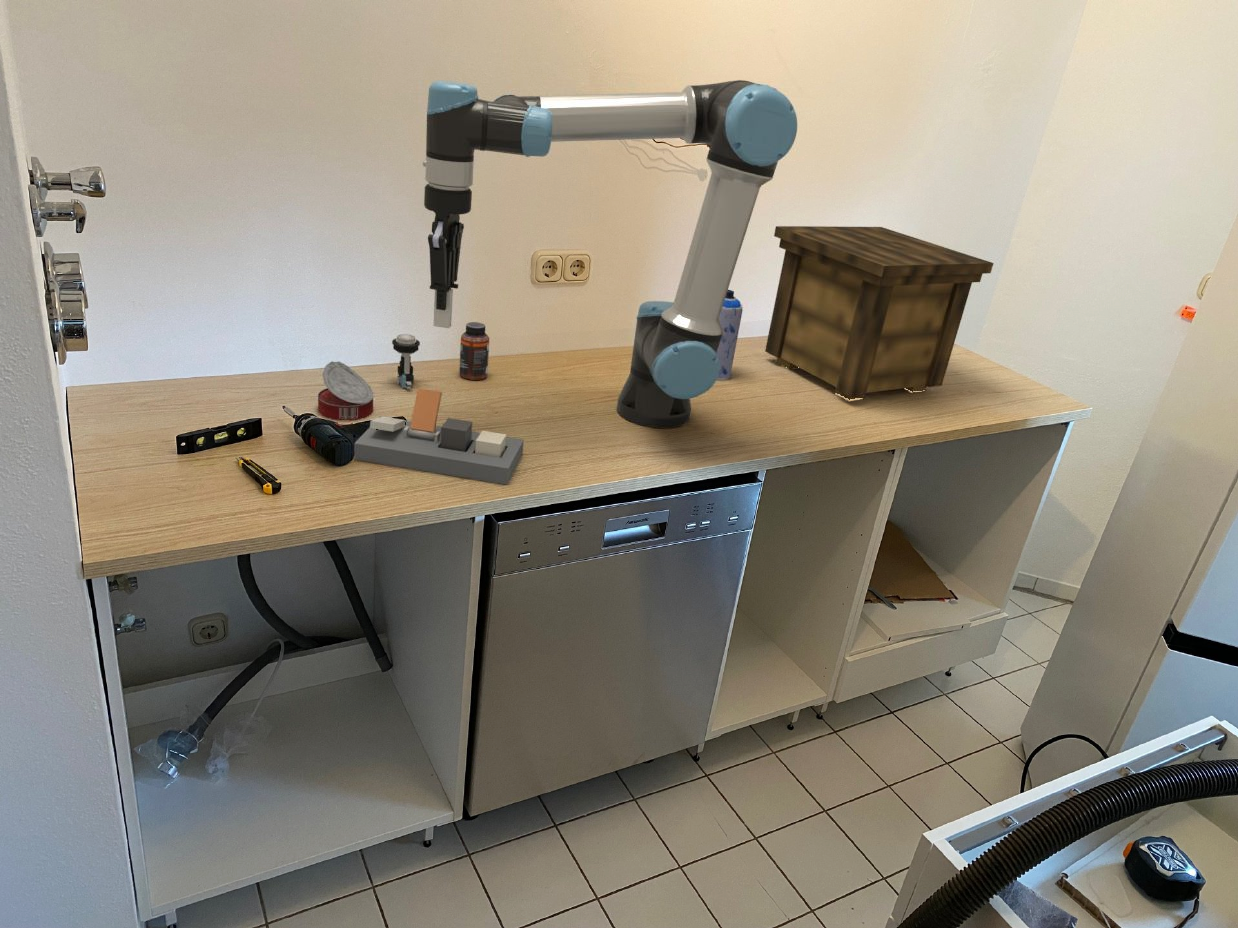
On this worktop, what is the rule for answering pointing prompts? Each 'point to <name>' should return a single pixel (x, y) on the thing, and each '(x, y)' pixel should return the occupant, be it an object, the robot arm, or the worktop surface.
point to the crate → (869, 307)
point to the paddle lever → (425, 413)
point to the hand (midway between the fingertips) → (442, 326)
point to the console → (437, 455)
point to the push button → (405, 358)
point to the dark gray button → (456, 434)
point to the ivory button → (490, 444)
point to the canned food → (344, 394)
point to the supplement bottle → (474, 352)
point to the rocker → (387, 424)
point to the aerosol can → (728, 334)
